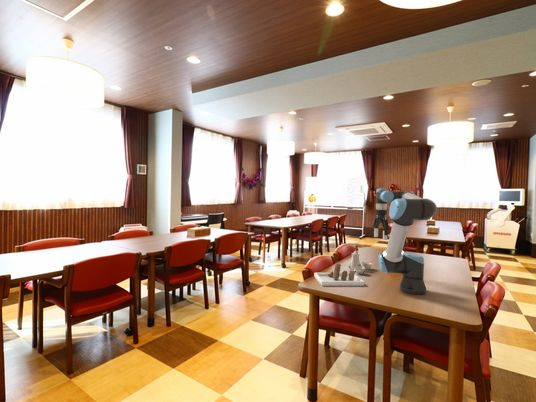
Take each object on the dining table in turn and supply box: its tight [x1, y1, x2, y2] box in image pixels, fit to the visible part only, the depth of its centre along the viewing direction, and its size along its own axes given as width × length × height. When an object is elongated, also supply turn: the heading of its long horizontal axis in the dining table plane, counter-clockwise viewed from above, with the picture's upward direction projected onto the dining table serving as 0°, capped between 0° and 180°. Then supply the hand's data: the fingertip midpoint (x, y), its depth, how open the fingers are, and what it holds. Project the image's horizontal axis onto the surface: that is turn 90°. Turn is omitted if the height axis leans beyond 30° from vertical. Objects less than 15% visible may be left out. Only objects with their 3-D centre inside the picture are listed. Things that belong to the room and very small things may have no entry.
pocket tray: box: [313, 272, 365, 287], centre depth 188 cm, size 20×28×3 cm
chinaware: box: [348, 249, 373, 276], centre depth 216 cm, size 28×17×17 cm, turn 147°
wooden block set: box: [328, 263, 356, 281], centre depth 190 cm, size 18×9×10 cm, turn 60°
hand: (380, 238), depth 199 cm, fingers open, 13 cm apart
